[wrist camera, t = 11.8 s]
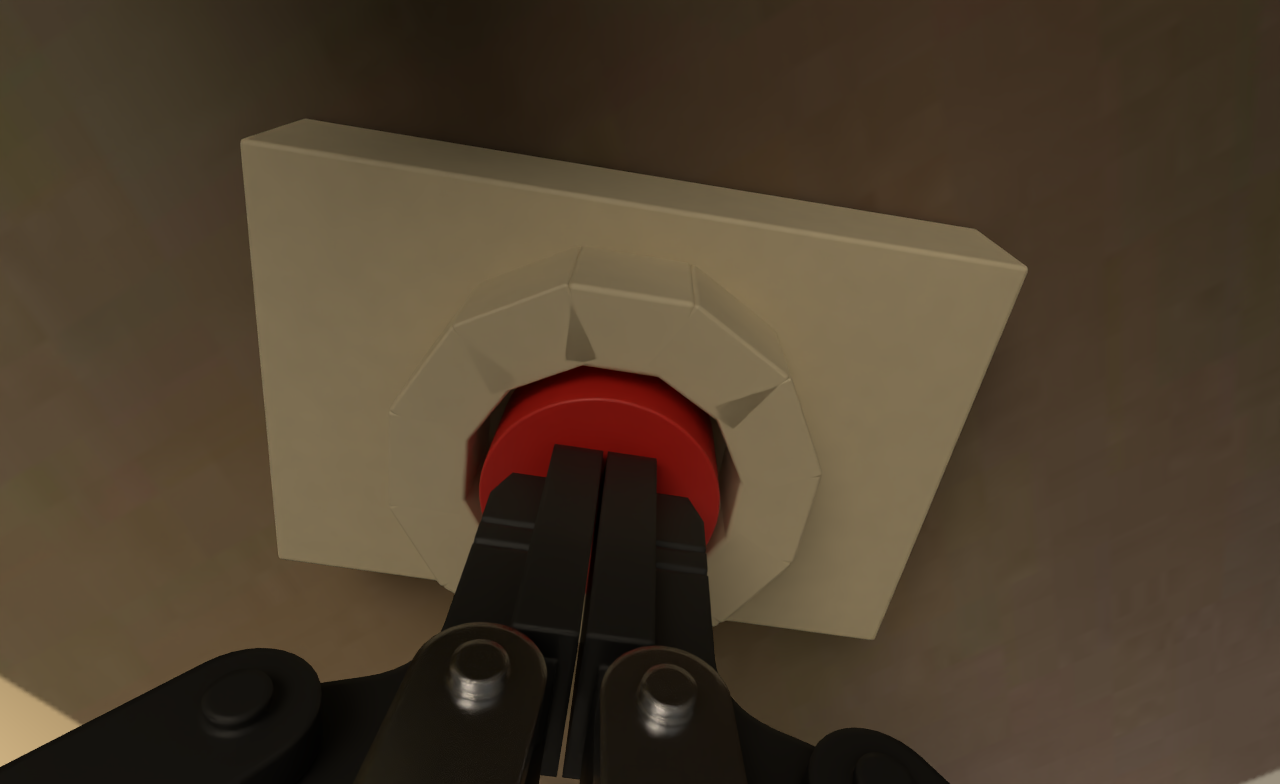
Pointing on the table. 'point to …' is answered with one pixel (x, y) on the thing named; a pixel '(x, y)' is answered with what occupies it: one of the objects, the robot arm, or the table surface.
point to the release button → (608, 433)
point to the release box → (607, 353)
